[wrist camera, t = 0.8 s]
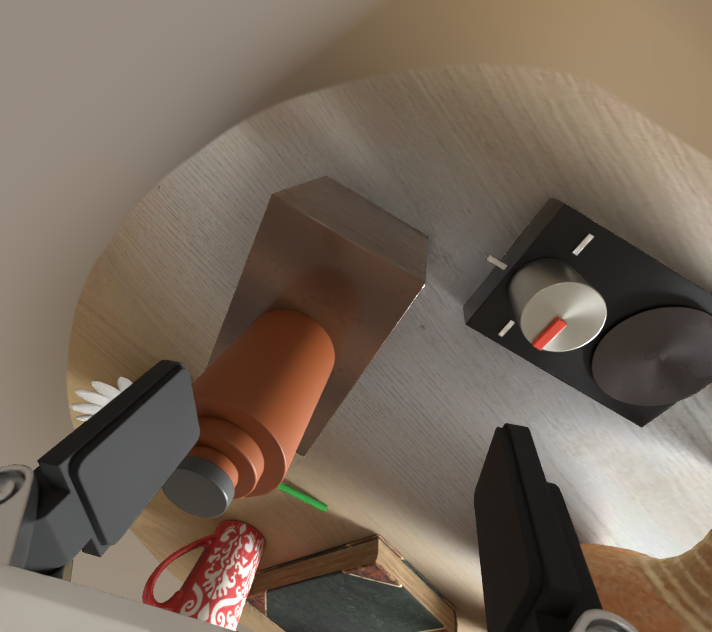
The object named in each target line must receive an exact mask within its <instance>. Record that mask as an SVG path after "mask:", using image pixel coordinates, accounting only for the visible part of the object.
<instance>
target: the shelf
mask: <svg viewBox="0 0 712 632" xmlns="http://www.w3.org/2000/svg"><path fill="white" fill-rule="evenodd" d="M428 239H429V237H428V236H426V235H425V234H423V233H421V232H420V231H418V230H416V229H415V228H413V227H411V226H410V225H408V224H406V223H405V222H403V221H401V220H400V219H398V218H396V217H395V216H393V215H391V214H390V213H388V212H386V211H385V210H383V209H381V208H380V207H378V206H376V205H375V204H373V203H371V202H370V201H368V200H366V199H365V198H363V197H361V196H360V195H358V194H356V193H354V192H353V191H351V190H349V189H348V188H346V187H344V186H343V185H341V184H339V183H338V182H336V181H334V180H333V179H331V178H329V177H328V176H324V177H321V178H318V179H315V180H312V181H309V182H306V183H303V184H300V185H297V186H294V187H291V188H288V189H285V190H283V191H280V192H277V193H274V194H272V195H271V198H270V201H269V203H268V206H267V208H266V211H265V214H264V216H263V219H262V222H261V224H260V227H259V230H258V232H257V235H256V237H255V240H254V243H253V245H252V248H251V251H250V253H249V256H248V259H247V261H246V264H245V266H244V269H243V272H242V274H241V277H240V280H239V282H238V285H237V287H236V290H235V293H234V295H233V298H232V301H231V303H230V306H229V309H228V311H227V314H226V316H225V319H224V322H223V324H222V327H221V330H220V332H219V335H218V338H217V340H216V343H215V345H214V348H213V351H212V353H211V356H210V359H209V361H208V364H207V366H206V369H205V371H206V370H207V369H208V368H209V367H210V366H211V365H212V364H213V363H214V362H215V361H216V360H217V359H218V358H219V357H220V356H221V355H222V354H223V353H224V352H225V351H226V350H227V349H228V348H229V346H230V345H231V344H232V343H233V342H234V341H235V340H236V339H237V338H238V337H239V336H240V335H241V334H242V333H243V332H244V331H245V330H246V329H247V328H248V327H249V326H250V325H251V324H252V323H253V322H254V321H255V320H256V319H257V318H258V317H260V316H261V315H263V314H265V313H267V312H270V311H273V310H292V311H296V312H299V313H302V314H304V315H306V316H308V317H310V318H311V319H313V320H314V321H316V322H317V323H318V324H319V325H320V326H321V327H322V328H323V329H324V330H325V331H326V333H327V334H328V336H329V337H330V339H331V342H332V344H333V347H334V352H335V362H334V366H333V369H332V371H331V374H330V376H329V378H328V380H327V383H326V385H325V387H324V389H323V392H322V394H321V396H320V398H319V401H318V403H317V405H316V407H315V410H314V412H313V414H312V416H311V419H310V421H309V423H308V425H307V427H306V430H305V432H304V434H303V436H302V439H301V441H300V443H299V445H298V448H297V450H296V453H298V454H299V455H301V456H303V457H304V456H305V455H306V454H307V452H308V451H309V450H310V448H311V447H312V445H313V444H314V442H315V441H316V440H317V438H318V437H319V435H320V434H321V432H322V431H323V430H324V428H325V427H326V425H327V424H328V422H329V421H330V420H331V418H332V417H333V415H334V414H335V413H336V411H337V410H338V408H339V407H340V405H341V404H342V403H343V401H344V400H345V398H346V397H347V395H348V394H349V393H350V391H351V390H352V388H353V387H354V385H355V384H356V383H357V381H358V380H359V378H360V377H361V376H362V374H363V373H364V371H365V370H366V368H367V367H368V366H369V364H370V363H371V361H372V360H373V358H374V357H375V356H376V354H377V353H378V351H379V350H380V348H381V347H382V346H383V344H384V343H385V341H386V340H387V339H388V337H389V336H390V334H391V333H392V331H393V330H394V329H395V327H396V326H397V324H398V323H399V321H400V320H401V319H402V317H403V316H404V314H405V313H406V311H407V310H408V309H409V307H410V306H411V304H412V303H413V302H414V300H415V299H416V297H417V296H418V294H419V293H420V292H421V290H422V289H423V287H424V286H425V281H426V268H427V254H428Z"/></svg>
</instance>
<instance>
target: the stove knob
mask: <svg viewBox="0 0 712 632" xmlns="http://www.w3.org/2000/svg"><path fill="white" fill-rule="evenodd" d="M507 298H508V301H509V304H510V306H511V308H512V310H513V312H514V315H515V317H516V319H517V321H518V324H519V326H520V328H521V330H522V332H523V334H524V336H525V337H526V339H527V340H528V341H529V342H530V343H532V345H533V346H534V347H536V348H537V349H539V350H542V349H544V350H548V351H555V352H560V351H568V350H573V349H576V348H578V347H581V346H583V345H585V344H586V343H588V342H590V341H591V340H592V339H593V338H594V337H595V336H596V335H597V334H598V333H599V332H600V331H601V329H602V327H603V326H604V323H605V320H606V315H607V309H606V304H605V301H604V299H603V298H602V296H601V295H600V294H599V293H598V292H597V291H596V290H595V289H594V288H593V287H592V286H591V285H590V284H589V283H588V282H587V281H586V280H585V279H584V278H582V277H581V276H580V275H579V274H578V273H577V272H576V271H575V270H574V269H573V268H572V267H571V266H570V265H568V264H567V263H565V262H563V261H561V260H558V259H554V258H541V259H536V260H533V261H530V262H528V263H526V264H525V265H523V266H522V267H520V268H519V269H518V270H517V271H516V272H515V273H514V274H513V276H512V277H511V279H510V281H509V283H508V287H507Z"/></svg>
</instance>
